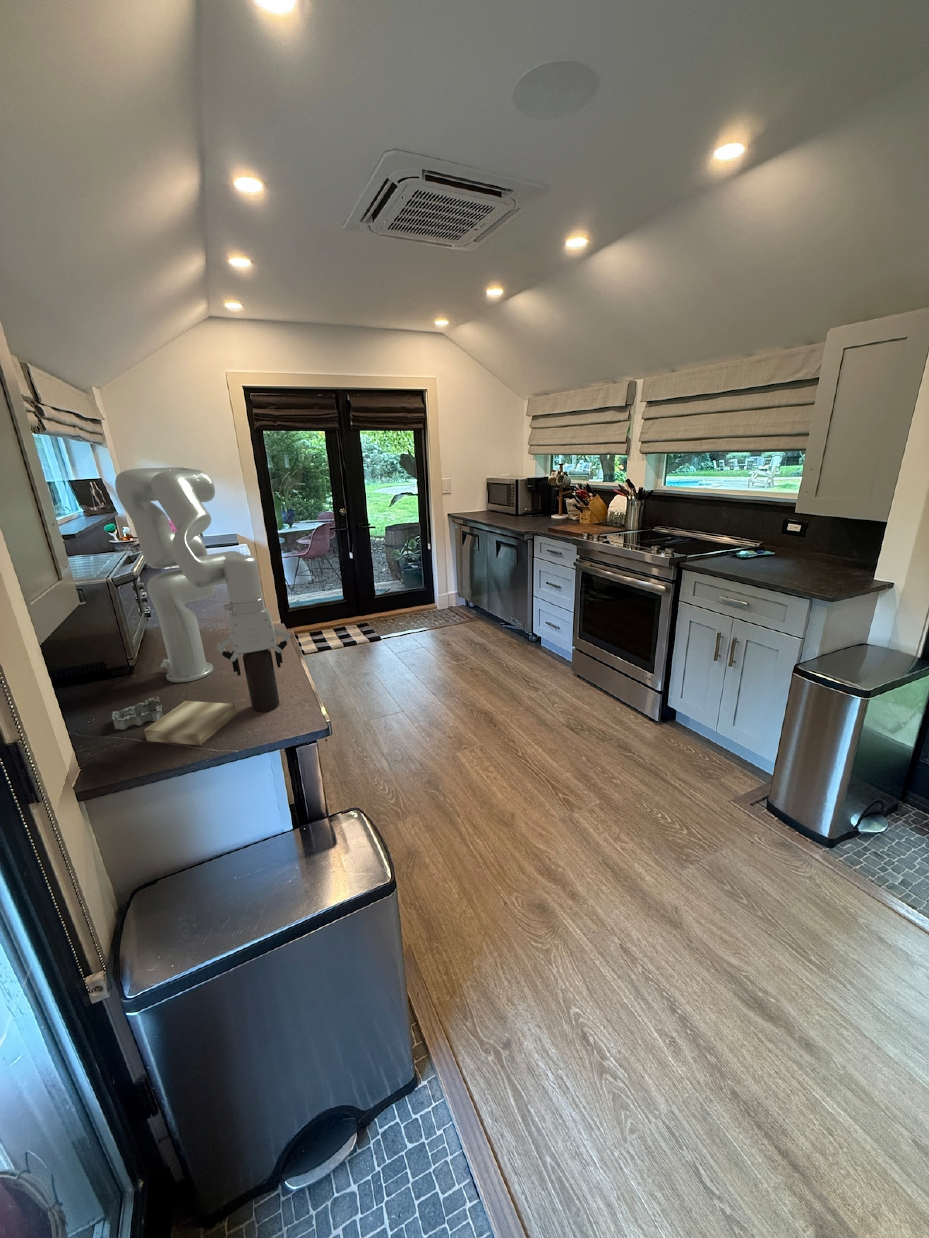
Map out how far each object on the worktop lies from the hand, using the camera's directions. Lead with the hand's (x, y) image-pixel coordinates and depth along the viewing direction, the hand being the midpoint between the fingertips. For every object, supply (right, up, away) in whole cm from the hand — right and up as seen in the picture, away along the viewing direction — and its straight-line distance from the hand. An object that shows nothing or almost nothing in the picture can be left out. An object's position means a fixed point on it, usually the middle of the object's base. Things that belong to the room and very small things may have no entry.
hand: (259, 669), depth 126 cm
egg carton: (-30, -13, -2) cm, 32 cm away
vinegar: (0, -10, +3) cm, 11 cm away
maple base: (-14, -13, -6) cm, 20 cm away
